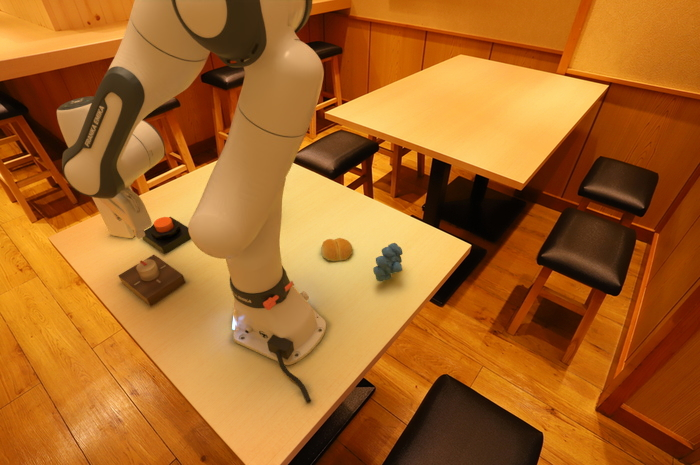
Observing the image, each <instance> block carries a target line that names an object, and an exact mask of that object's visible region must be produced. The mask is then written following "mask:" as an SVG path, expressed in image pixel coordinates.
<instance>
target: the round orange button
mask: <svg viewBox="0 0 700 465" xmlns="http://www.w3.org/2000/svg"><path fill="white" fill-rule="evenodd" d="M169 217H170V216H162V217H159V218H157V219H156V220H154V222H153V224H154V226H155V229H156V231H157V232H161V233H163V232H167V231H169V230H171V229H172V228H173V227H174V225H173V222H172V220H171V218H169Z"/></svg>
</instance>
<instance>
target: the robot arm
mask: <svg viewBox="0 0 700 465" xmlns="http://www.w3.org/2000/svg"><path fill="white" fill-rule="evenodd" d="M312 9H313V0H134V1H133V5H132V8H131V11H130V14H129V15H130V16H129V19H128V22H127V25H126V28H125V31H124V33H123V36H122V39H121V41H120V44H119V46H118V48H117V51H116V53H115V55H114V58H113V59H112V61H111V63H110V65H109V67H108V68H107V70H106V72H105V73H104V75H103V78H102V80H101V82H100V83H99V86H98V88H97V89H96V92H95V94H94V96H83V97H79V98H74V99H72V100H68V101H66V102H64V103H63V104H61V105H59V107H58V108H57V109H56V117H57V124H58V126H59V129H60V131H61V134H62V136H63V139H64V141H65V143H66V144H65V145H66V146H67V148H66V149H65V150H64V151H63V152H62V158H61V168H62V174H63V176H64V178H65V179H66V182H67V183H68V184H69V186H70V187H71V188H72V189H74V190H75V191H76V192H77V193H79V194H81V195H84V196H86V197H91V198H92V197H94V198H98V199H100V200H101V201H102V202H103V203H104V204H105V205H106V206H107V207H109V208H110V210H111V211H112V213H113V214H114V216H115V218H116V219H117V220H118V221H121V220H123V221H124V222H125V223H127V224H128V225H129V226H130V227H131V228H132V229H133V233H134V235H135V236H134V237H136V238H137V239H138V240H140V239H143V238H142V237H144V236H145V232H144V231H145V230H146V229H148V228H150V227H151V226H152V225H153V222H152V218H151V216H150V213H149V212H148V210H147V207H146V205H145V203H144V201H143V200H142V198H141V197H140V195H139V194H137V193H136V192H134V190H133V189H132V186H131V185H133V184H134V182H135V181H136V180H137V179H138V178H140V177H141V176H143V175H144V174H146V173H147V172H149V170H150V169H152V168H154V167H155V166H156V165H157V164H158V163H159V162H160V161H162V160H163V159H164V157H165V155H166V146H165V141H164V139H163V137H162V135H161V133H160V132H159V130H158V129H157V128H156V127H155V126H154V125H152V124H151V123H149V122H148V121H146V120H144V119H145V118H146V117H147V116H148V115H149V114H151V113H152V112H153V111H155V110H156V109H158V108H159V107H161V106H162V105H164V104H165V103H167V102H169V101H170V100H172V99H173V98H176V96H178V95H180V94H181V93H183V92H184V91H186V90H187V89H188V88H189V87H190V86H191V85H192V84H193V82H194V81H195V80H196V79H197V78H198V76H199V75H200V73H201V72H202V70H203V69H204V67H205V65H206V63H207V60H208V59H209V55H210V53H213V54H214V55H216V56H217V57H218V58H219V59H220V61H221V62H222V63H223V64H224V65H225V66H227V67H230V68H236V69H237V68H239V69H240V68H243V70H244V72H243V73H244V77H243V83H242V86H241V90H240V92H239V96H238V100H237V103H236V107H235V110H234V113H233V117H232V120H231V124H230V127H229V131H228V134H227V138H226V140H225V144H224V145H223V149H222V150H221V152H220V155H219V156H218V158H217V161H216V163H215V165H214V167H213V169H212V171H211V173H210V176H209V178H208V181H207V182H206V185H205V188H204V190H203V192H202V195H201V197H200V200H199V202H198V204H197V206H196V208H195V210H194V212H193V213H192V216H191V218H190V219H189V222H188V226H187V227H188V231H189V235H190V237H191V239H190V240H191V241H192V243H193V244H194V245H195V246H196V248H197V249H199V250H200V251H201V252H203V254H205V255H207V256H209V257H212V258H215V259H222V260H225V262H226V266H227V269H228V273H229V287H230V290H231V293H232V295H233V297H234V298H233V308H232V315H233V318H232V327H231V329H232V330H233V336H232V338H233V341H234V343H235V344H236V343H237V345H240V346H242V347H244V348H247V349H249V350H251V351H252V352H253V351H254V352H256V353H257V354H260V355H262V356H264V357H267V358H268V359H271V360H273V361H275V362H278V364H279V367H280V369H281V370H282V372H283V374H284V375H285V376H286V377H287V378H289V379H290V380H291V381H293V382H294V383H295V384H296V385H297V386H298V387H299V389H300V390H301V393H302V395H303V398H304V400H305V402H306V403H307V404H308V403H310V402H312V399H311V396H310V395H309V392H308V389H307V388H306V386H305V384H304V383H303V382H302V380H301V379H300V378H299V377H297V376H296V375H295V374H293V373H292V372H291V371H290V370H288V368H287V366H291V365H293V364H296V363H298V362H300V361H301V360H303V359H304V358H306V357H307V356H308V355H309V354H310V353H311V352H312V351H313V350H314V349H315V348H316V347H317V346H318V344H319V343H321V340H322V339H323V337H324V335H325V333H326V330H327V325H328V324H327V322H326V320H325V318H323V317H322V316H321V315H320V313H318V312H317V311H316V310H315V309H314V308H313V306H312V305H311V304H310V303H309V302H308V300H309V294H308V293H307V292H306V291H304V290H303V291H301V292H299V291H298V289H297V288H296V287H295V283H294V281H293V280H290V278H289V276H288V274H287V271H286V269H285V267H284V266H283V262H282V254H281V247H280V246H281V245H280V244H281V242H280V241H281V240H280V239H281V227H282V217H283V216H282V214H283V212H282V211H283V197H284V190H285V185H286V180H287V176H288V174H289V172H290V171H291V169H292V166H293V164H294V162H295V160H296V158H297V155H298V153H299V150H300V149H301V146H302V144H303V142H304V139H305V137H306V135H307V132H308V130H309V128H310V125H311V123H312V121H313V118H314V115H315V112H316V109H317V106H318V103H319V100H320V99H319V98H320V96H321V91H322V86H323V81H324V74H325V70H324V65H323V62H322V60H321V58H320V57H319V55H318V54H317V52H315V50H314V49H313V48H311V47H310V46H309V45H308V43H307V44H306V43H305V42H304V41H301V40H300V38H299V36H298V35H297V34H298V33H299V32H300V30H302V29H303V27H304V26H305V25H306V24H307V22H308V20H309V18H310V16H311V13H312ZM234 62H235V63H234ZM130 187H131V189H132V190H131V189H130Z"/></svg>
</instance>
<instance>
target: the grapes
mask: <svg viewBox="0 0 700 465" xmlns="http://www.w3.org/2000/svg"><path fill="white" fill-rule="evenodd" d="M402 255H403V248H401V246H399V245H398V244H397V243H396V242H392V243H390V244H388V246H385V247H383V248H382V249H381V255H378V256H377V257H375V264H376V265H375V266H373V268H372V271H373V275H374V276H375V280H376V281H377V282H384V281H389V280H392V274H396V273H400V272H402V271H403V265H402V262H403V260H402Z"/></svg>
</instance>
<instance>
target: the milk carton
mask: <svg viewBox="0 0 700 465" xmlns="http://www.w3.org/2000/svg"><path fill="white" fill-rule="evenodd" d="M130 189H131V190H132V191H133V189H132V186H131V187H130ZM91 199H92V201H93V202H94V204H95V206H96V209H97V211H98V212H99V214H100V217H101V218H102V220H103V222H104V224H105V226H106V228H107V230H108V232H109V234H110V236H113V237H120V238H125V239H133V238H134V237H136V236H135V235H134V233H133V229H132V228H131V227H130V226H129V225H128V224H127V223H125V222H124V221H123V220H121V221H118V220H117V219H116V218H115V216H114V214H113V213H112V211H111V210H110V208H109V207H107V206H106V205H105V204H104V203H103V202H102V201H101V200H100V199H98V198H94V197H91Z"/></svg>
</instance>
